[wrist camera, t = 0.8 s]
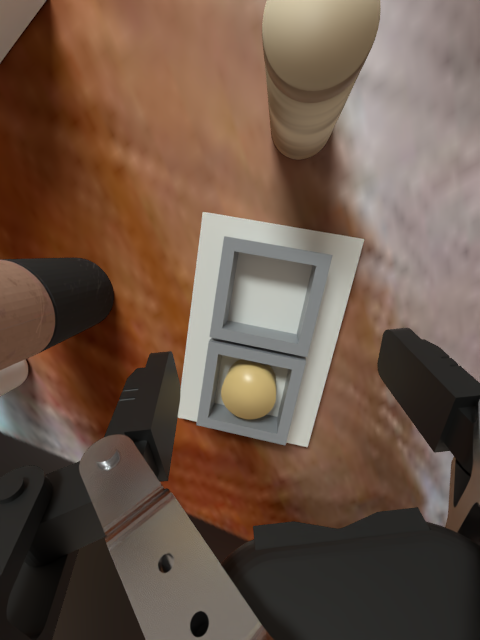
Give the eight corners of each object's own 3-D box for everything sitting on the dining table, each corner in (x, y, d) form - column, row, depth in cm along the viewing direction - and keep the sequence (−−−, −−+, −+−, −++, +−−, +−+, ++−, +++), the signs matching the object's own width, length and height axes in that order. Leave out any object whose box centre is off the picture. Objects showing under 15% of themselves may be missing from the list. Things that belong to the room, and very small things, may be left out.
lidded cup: (264, 102, 24) (250, -25, 13) (327, 81, 23) (372, -75, 12) (277, 167, 25) (274, 104, 14) (337, 149, 24) (387, 67, 13)
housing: (206, 213, 27) (194, 208, 23) (360, 239, 26) (374, 238, 22) (180, 411, 33) (167, 433, 29) (306, 439, 32) (310, 467, 28)
